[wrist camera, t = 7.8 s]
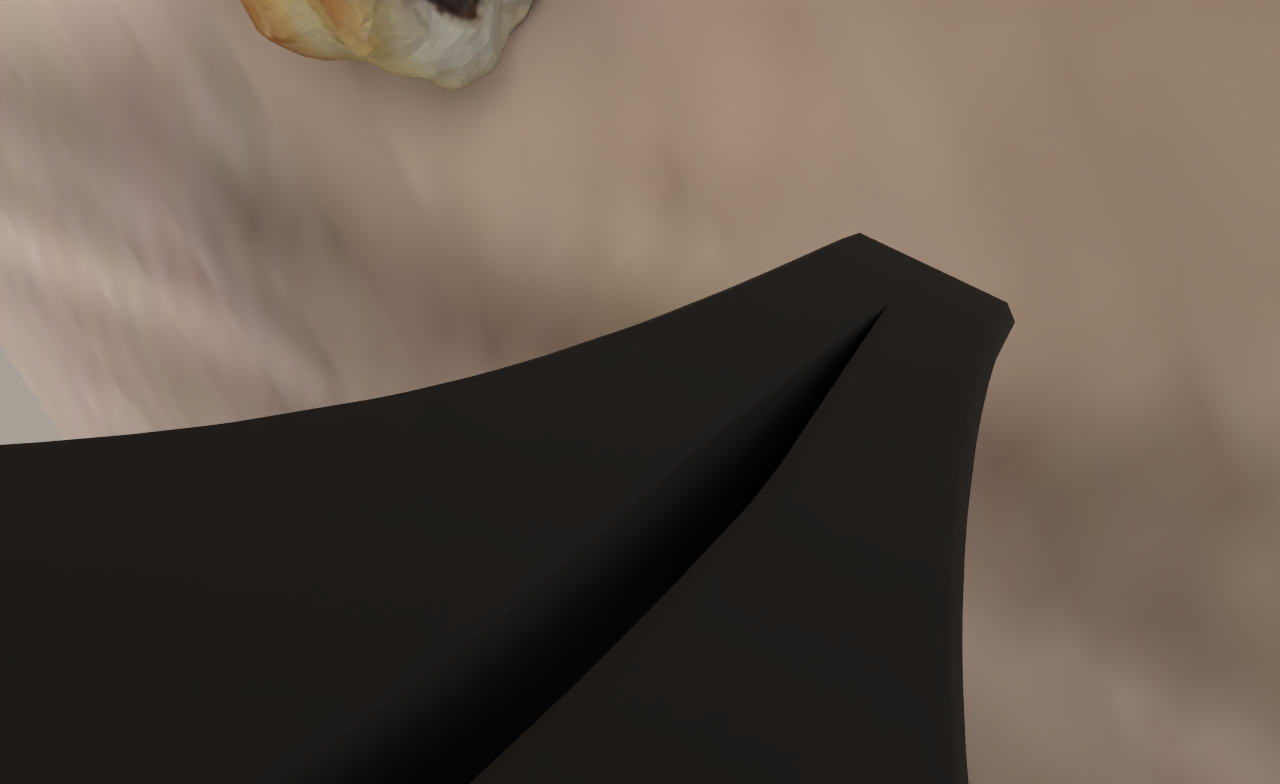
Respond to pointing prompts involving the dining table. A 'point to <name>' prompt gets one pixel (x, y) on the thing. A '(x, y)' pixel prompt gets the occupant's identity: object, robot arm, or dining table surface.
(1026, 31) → the dining table surface
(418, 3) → the pastry
